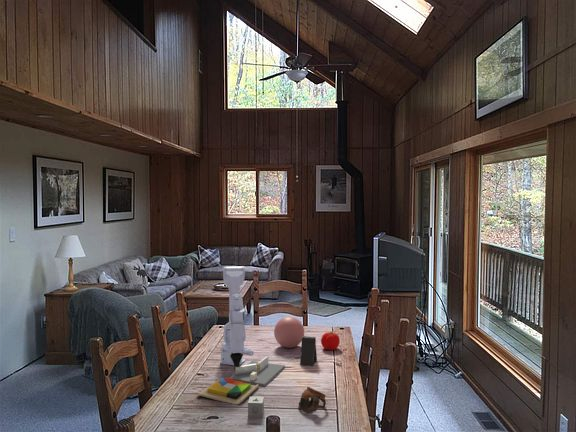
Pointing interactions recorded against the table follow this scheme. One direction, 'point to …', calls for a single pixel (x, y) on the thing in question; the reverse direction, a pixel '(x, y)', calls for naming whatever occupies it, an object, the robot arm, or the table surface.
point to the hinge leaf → (246, 369)
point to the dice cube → (256, 407)
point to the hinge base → (260, 373)
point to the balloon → (289, 332)
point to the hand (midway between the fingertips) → (236, 370)
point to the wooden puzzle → (228, 390)
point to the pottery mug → (314, 402)
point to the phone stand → (308, 351)
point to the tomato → (330, 341)
